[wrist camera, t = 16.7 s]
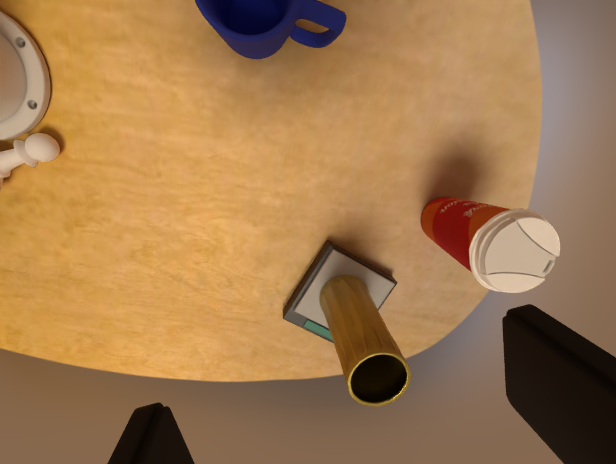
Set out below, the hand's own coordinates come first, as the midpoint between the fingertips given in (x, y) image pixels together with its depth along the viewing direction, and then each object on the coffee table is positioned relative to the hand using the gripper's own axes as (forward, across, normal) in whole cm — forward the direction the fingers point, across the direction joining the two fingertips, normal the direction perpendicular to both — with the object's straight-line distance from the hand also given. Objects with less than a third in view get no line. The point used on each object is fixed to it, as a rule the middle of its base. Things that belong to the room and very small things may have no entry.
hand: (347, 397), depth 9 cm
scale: (+31, -3, +14) cm, 34 cm away
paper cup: (+31, -18, +7) cm, 36 cm away
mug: (+31, -3, -17) cm, 36 cm away
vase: (+28, -4, +13) cm, 31 cm away
